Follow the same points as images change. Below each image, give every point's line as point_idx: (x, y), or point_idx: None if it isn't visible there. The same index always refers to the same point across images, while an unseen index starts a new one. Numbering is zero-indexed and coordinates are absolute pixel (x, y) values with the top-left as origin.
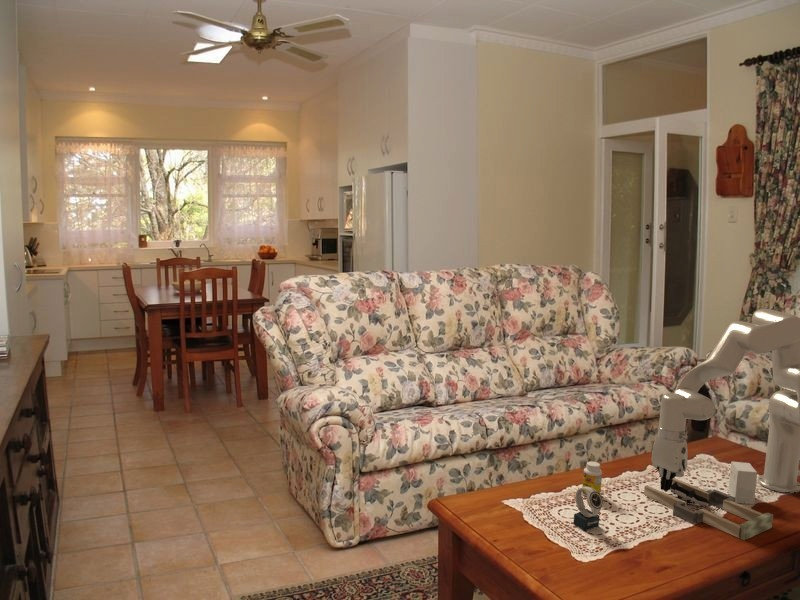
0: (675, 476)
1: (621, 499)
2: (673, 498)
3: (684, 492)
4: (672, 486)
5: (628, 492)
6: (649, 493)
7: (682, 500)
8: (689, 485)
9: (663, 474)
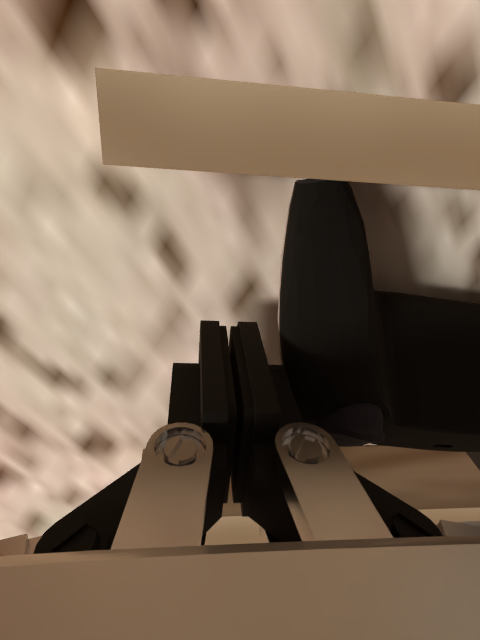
0: (377, 499)
1: None
2: None
3: (475, 449)
4: None
5: (47, 511)
6: None
7: (474, 507)
8: (435, 150)
9: (204, 539)
